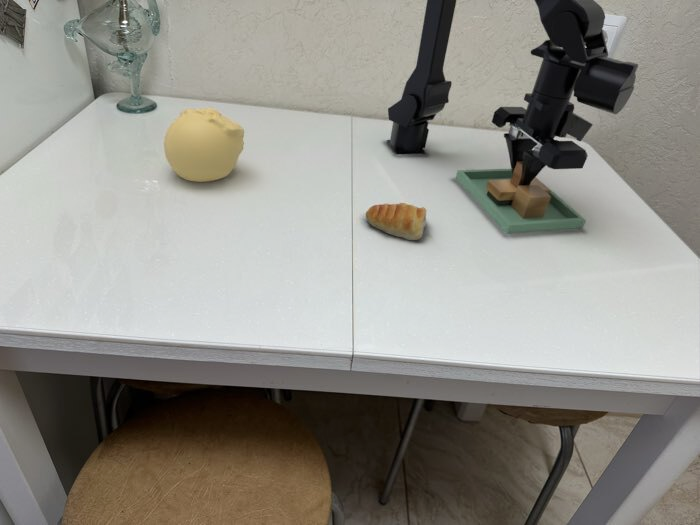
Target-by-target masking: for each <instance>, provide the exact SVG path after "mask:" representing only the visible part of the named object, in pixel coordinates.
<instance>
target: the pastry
mask: <svg viewBox="0 0 700 525" xmlns="http://www.w3.org/2000/svg"><path fill="white" fill-rule="evenodd" d="M365 218H366V221H367V222H368V223H369V225H371V226H372V227H373V228H375V229H377V230H380V231H382V232H384V233H386V234H388V235H391V236H394V237H398V238H403V239H405V240H407V241H408V240H409V241H418V240H419V241H420V239H421V238H422V236H423V234H424V228H425V227H426V225H427V209H426V208H425V207H424V206H422V207H418V206H414V205H412V204H408V203H405V202H399V203H392V204H390V203H383V204H374V205H372V206H370V207H369V208H368V209H367V210H366V212H365Z"/></svg>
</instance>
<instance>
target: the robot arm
mask: <svg viewBox="0 0 700 525" xmlns="http://www.w3.org/2000/svg"><path fill="white" fill-rule="evenodd" d="M534 2H535V4H536V6H537V8H538V14H539V20H540V22H541V25H542V27H543V29H544V31H545V33H546V35H547V38H548V39H545V40H544V41H543V42H542V43H541V44H540V45H539V46H537V47H534V48H533V49H531V50H530V55H532V56H535V57H538V58H542V61H541V63H540V67H539V70H538V72H537V73H538V74H537V76H536V79H535V82H534V85H533V88H532V92H531V93H530V92H529V93H525V94H524V96H523V101H525V102H527V106H526V108H524V107H523V106H500V107H498V108H497V109H496V110H495V111H494V112H493V116H492V119H491V123H492V124H494V125H495V126H496V127H497V128H498V129H501V128H503V127H505V126H506V124H507V123H508V126H510V127H509V130H508V132H506V133H504V134H503V138H504V139H505V142H506V148H507V152H508V156H509V163H510V169H511V170H512V175H513V172H514V169H515V166H516V163H517V161H523V165H522V175H521V186H525V185H529V184H530V183H531V182H532V180H533V179H534V178H535V177H536V178H537V176H538V175H539V174H540V173H541V171H542V170H543V169H544V168H545V167H547V168H549V169H551V170H574V169H575V170H576V169H578V170H579V169H583V168H584V166H585V165H586V164H585V163H586V161H587V159H588V157H589V155H588V152H587V151H586V149H585V148H584V147H582V146H580V145H579V144H577V143H576V142H575V141H572V140H558V139H555V138H556V137H558V138H567V135H569V136H570V137H573V138H575V139H576V141H578V142H582V140H583V139H584V138H585V136H586V135H587V134H588V132H589V131H590V130H591V129H592V127H593V126H594V125H593V123H592V122H590V121H588V120H587V119H585V118H583V117H581V115H578V114H576V113H575V112H574V111H575V104H574V103H572V102H571V101H570V100H571V98H572V95H573V97H575V98H576V101H577V102H578V103H580V104H584V105H586V106H589V107H591V108H594V109H597V110H601V111H604V112H606V113H609V114H612V115H618V114H619V113H620V112H621V111H622V110H623V109H624V108H625V106H626V104H627V103H628V101H629V99H630V98H631V96H632V94H633V92H634V90H635V82H636V77H637V75H636V72H637V70H638V68H639V64H638V63H635V62H631V61H622V60H618V59H615V58H612V57H609V51H608V47H607V43H606V39H605V38H606V37H605V34H604V30H603V28H604V25H605V19H606V14H605V11H604V9H603V7H602V6H601V5H600V3H599V4H598V3H597V1H595V0H534ZM456 4H457V0H426V5H425V12H424V18H423V23H422V29H421V34H420V35H421V36H420V41H419V47H418V53H417V59H416V65H415V67H414V69H413V71H412V73H411V74H410V76H409V77H408V79H407V80H406V82H405V85H404V88H403V92H402V94H401V97H400V99H399V100H398V101H397V102H396V103H394V104H392V105H391V106H390V107H389V108H387V114H388V120H389V121H391V122H392V127H391V132H390V138H389V139H386V144H387V145H388V147H389V149H391V151H392V152H393V153H394V155H426V154H427V152H426V151H425V148H426V146H427V142H428V136H429V131H430V129H429V121H432V120H434V119H435V117H436V115H437V114H439V113H440V112H441V111H443V110H444V108H445V106H446V104H448V103H450V102H449V94H450V91H451V88H452V85H453V84H452V81H451V80H446V77H445V74H444V64H445V60H446V55H447V50H448V45H449V40H450V36H451V29H452V24H453V21H454V19H453V18H454V15H455V10H456Z"/></svg>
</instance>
